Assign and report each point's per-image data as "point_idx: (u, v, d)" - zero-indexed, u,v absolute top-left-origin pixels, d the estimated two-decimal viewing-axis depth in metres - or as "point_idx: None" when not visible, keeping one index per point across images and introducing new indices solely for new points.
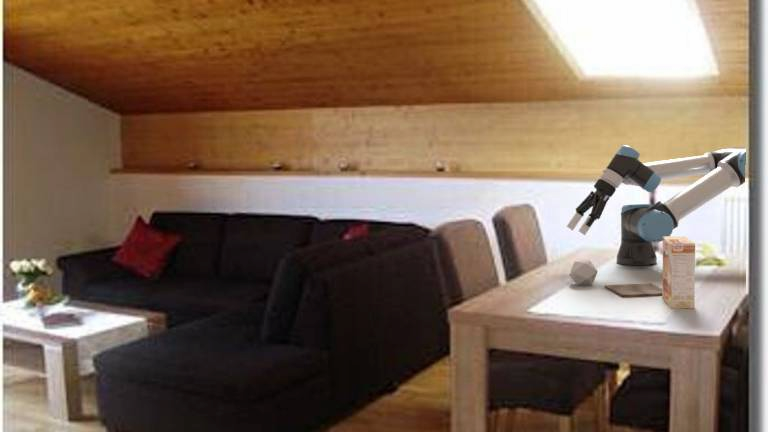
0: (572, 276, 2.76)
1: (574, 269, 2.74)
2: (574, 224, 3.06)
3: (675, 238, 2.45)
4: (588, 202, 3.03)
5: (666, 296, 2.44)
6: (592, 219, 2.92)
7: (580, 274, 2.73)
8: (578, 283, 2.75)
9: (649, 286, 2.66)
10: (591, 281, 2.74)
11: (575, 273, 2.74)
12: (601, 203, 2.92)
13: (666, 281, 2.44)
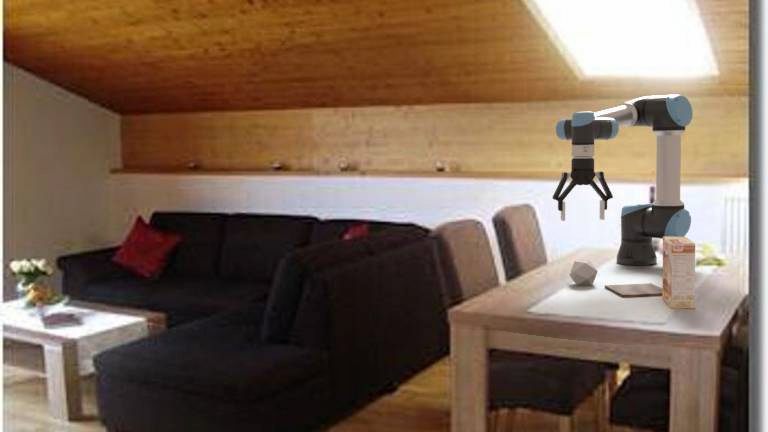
0: (572, 276, 2.76)
1: (574, 269, 2.74)
2: None
3: (675, 238, 2.45)
4: None
5: (666, 296, 2.44)
6: None
7: (580, 274, 2.73)
8: (578, 283, 2.75)
9: (649, 286, 2.66)
10: (591, 281, 2.74)
11: (575, 273, 2.74)
12: None
13: (666, 281, 2.44)
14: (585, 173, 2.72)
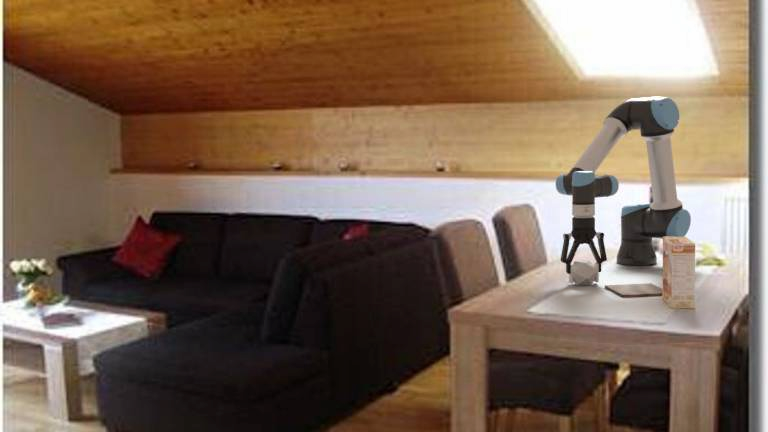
0: None
1: (574, 269, 2.74)
2: None
3: (675, 238, 2.45)
4: None
5: (666, 296, 2.44)
6: None
7: (579, 274, 2.73)
8: (578, 283, 2.75)
9: (649, 286, 2.66)
10: (591, 281, 2.74)
11: (575, 273, 2.74)
12: None
13: (666, 281, 2.44)
14: (586, 230, 2.74)
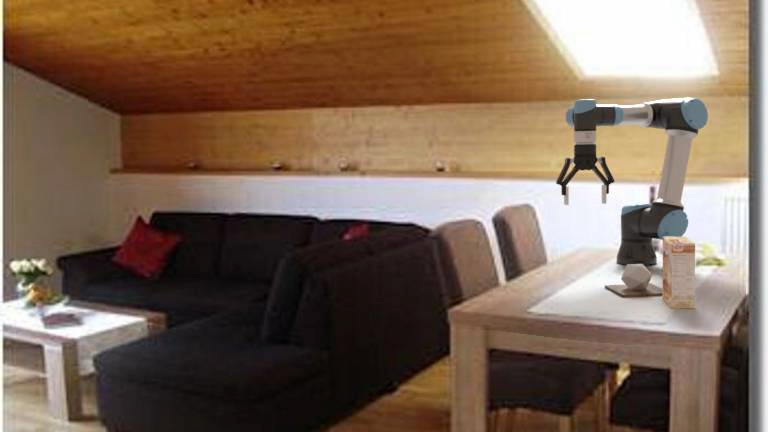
0: (625, 280, 2.62)
1: (627, 273, 2.60)
2: None
3: (675, 238, 2.45)
4: None
5: (666, 296, 2.44)
6: None
7: (634, 278, 2.59)
8: (632, 287, 2.61)
9: (649, 286, 2.66)
10: (645, 285, 2.60)
11: (629, 277, 2.60)
12: None
13: (666, 281, 2.44)
14: (587, 158, 2.82)
